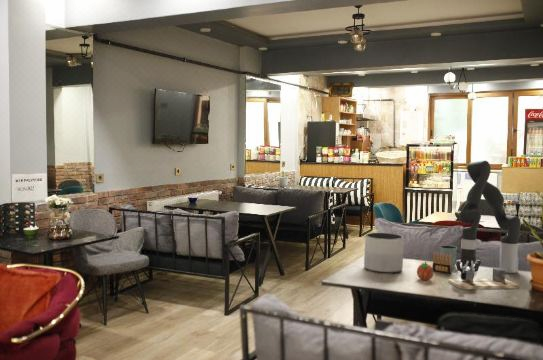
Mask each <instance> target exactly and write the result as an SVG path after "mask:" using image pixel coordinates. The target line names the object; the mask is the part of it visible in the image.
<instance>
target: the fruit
mask: <svg viewBox="0 0 543 360" xmlns="http://www.w3.org/2000/svg"><path fill="white" fill-rule="evenodd" d="M416 274H417V277H418V279H420V280H422V281H430V280H431V279H432V278H433V276H434V272H433V269H432V266H431V265H430V264H428V263H427V261H424V263H421V264H419V266H418V267H417V270H416Z"/></svg>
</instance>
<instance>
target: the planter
mask: <svg viewBox="0 0 543 360" xmlns="http://www.w3.org/2000/svg"><path fill="white" fill-rule="evenodd" d="M364 238H365V239H364V240H365V241H364V255H363V256H364V260H363V267H364V268H365V269H366V270H367V271H369V272H373V273H377V274H378V273H379V274H397V273H399V272H401V271H402V270H403V266H404V265H403V263H404V262H403V261H404V236H402V235H401V234H398V233H397V234H396V233H390V232H369V233H366V234H365V236H364Z"/></svg>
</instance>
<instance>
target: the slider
mask: <svg viewBox="0 0 543 360" xmlns="http://www.w3.org/2000/svg"><path fill="white" fill-rule="evenodd" d="M473 273H474V274H475V272H474V271H473V270H471V269H470V268H466V270H465V280H463V279H462V278H461V277H460V279H461V280H463V281H465V282H470V283H473V279H474V278H473Z"/></svg>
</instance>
